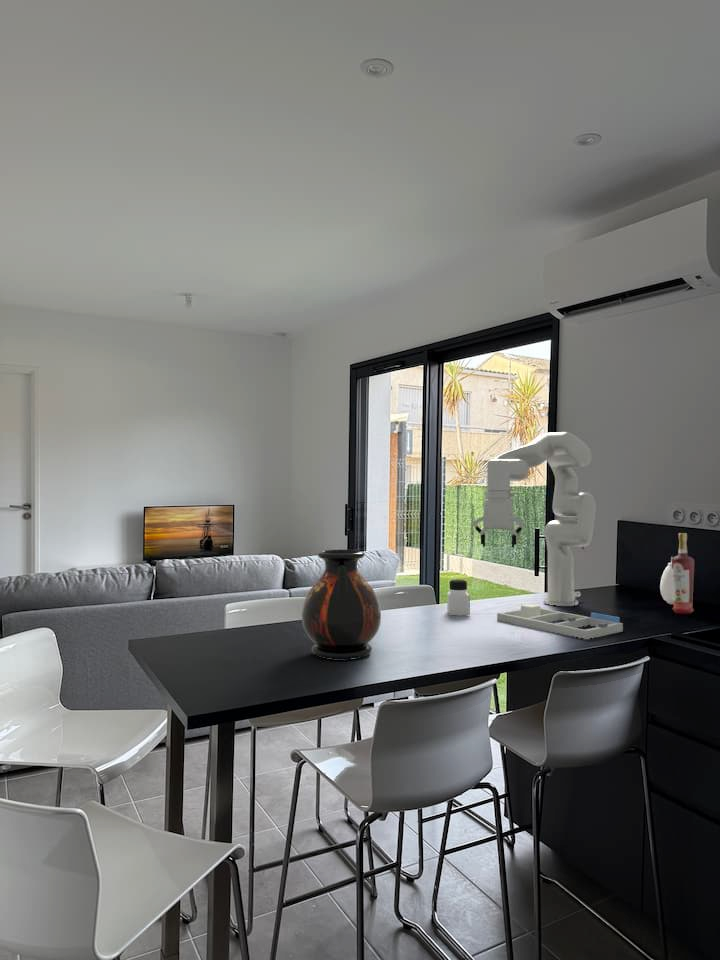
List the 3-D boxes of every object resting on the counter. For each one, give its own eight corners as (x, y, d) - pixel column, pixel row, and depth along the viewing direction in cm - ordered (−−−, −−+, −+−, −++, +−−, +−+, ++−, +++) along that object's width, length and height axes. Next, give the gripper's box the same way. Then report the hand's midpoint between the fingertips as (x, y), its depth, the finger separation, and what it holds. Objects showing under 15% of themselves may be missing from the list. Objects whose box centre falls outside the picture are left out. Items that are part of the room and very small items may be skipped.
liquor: (698, 613, 245) (698, 533, 245) (687, 616, 241) (686, 534, 241) (679, 610, 251) (678, 532, 251) (667, 612, 247) (667, 533, 247)
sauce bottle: (655, 603, 266) (655, 555, 266) (669, 601, 269) (669, 554, 269) (673, 606, 259) (673, 557, 259) (687, 604, 262) (687, 556, 262)
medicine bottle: (469, 615, 244) (469, 581, 244) (449, 615, 244) (449, 581, 244) (467, 611, 251) (467, 578, 251) (447, 611, 251) (447, 578, 251)
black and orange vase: (303, 645, 202) (302, 548, 202) (377, 644, 203) (377, 547, 203) (301, 665, 180) (300, 556, 180) (384, 663, 182) (384, 555, 182)
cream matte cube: (529, 618, 239) (529, 603, 239) (540, 620, 235) (540, 605, 235) (520, 620, 236) (520, 605, 236) (531, 622, 232) (531, 607, 232)
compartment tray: (534, 613, 247) (534, 602, 247) (623, 630, 219) (623, 618, 219) (497, 620, 235) (497, 608, 235) (586, 639, 207) (586, 626, 207)
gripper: (524, 495, 239) (524, 546, 239) (472, 495, 243) (472, 545, 242) (525, 496, 232) (525, 548, 232) (472, 496, 235) (472, 547, 235)
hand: (498, 546), depth 237 cm, fingers open, 9 cm apart
